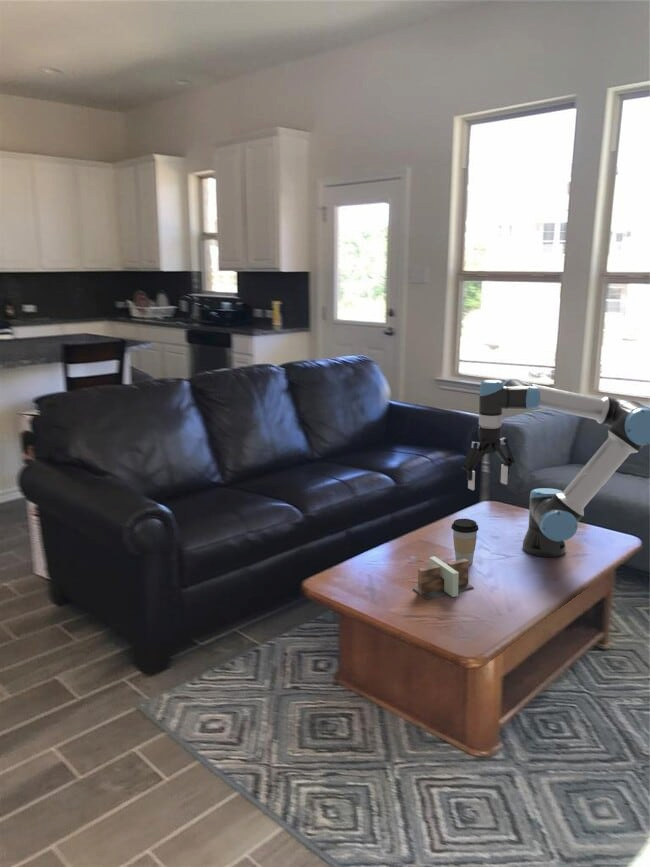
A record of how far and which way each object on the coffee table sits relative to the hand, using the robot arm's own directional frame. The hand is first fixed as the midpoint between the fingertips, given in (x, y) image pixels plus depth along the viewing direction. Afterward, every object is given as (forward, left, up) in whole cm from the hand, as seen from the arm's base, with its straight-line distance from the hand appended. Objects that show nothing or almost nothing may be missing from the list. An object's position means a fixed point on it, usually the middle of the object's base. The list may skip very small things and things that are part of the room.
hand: (487, 486), depth 238 cm
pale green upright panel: (+19, +18, -28) cm, 38 cm away
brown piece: (+19, +18, -29) cm, 39 cm away
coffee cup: (+7, -2, -29) cm, 30 cm away
